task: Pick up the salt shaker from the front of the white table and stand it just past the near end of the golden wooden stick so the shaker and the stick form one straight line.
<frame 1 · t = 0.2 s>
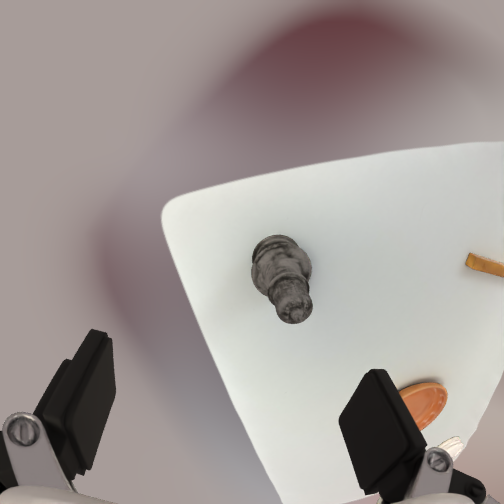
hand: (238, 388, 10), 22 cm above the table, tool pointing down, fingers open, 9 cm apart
coaster: (443, 447, 56), on the table
saucer: (404, 406, 45), on the table
golden stick: (492, 265, 35), on the table
salt shaker: (276, 257, 33), on the table
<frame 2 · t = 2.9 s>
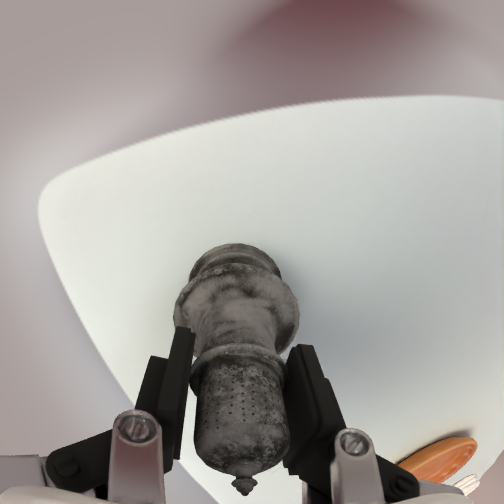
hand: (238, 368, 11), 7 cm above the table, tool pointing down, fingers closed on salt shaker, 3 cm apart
coaster: (457, 485, 40), on the table
saucer: (422, 462, 29), on the table
salt shaker: (235, 286, 17), on the table, touching gripper
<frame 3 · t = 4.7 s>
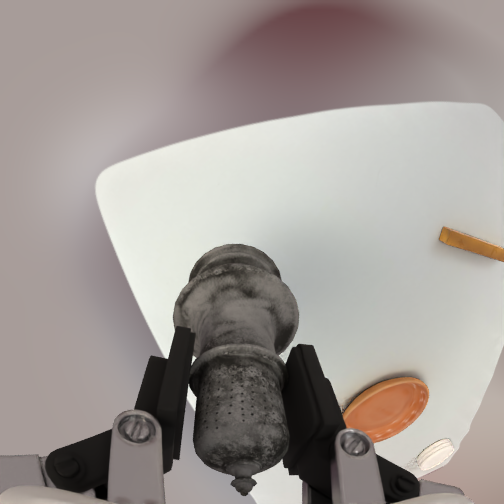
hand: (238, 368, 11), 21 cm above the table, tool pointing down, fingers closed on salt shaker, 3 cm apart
coaster: (432, 449, 53), on the table
saucer: (380, 403, 42), on the table
golden stick: (473, 243, 33), on the table
salt shaker: (235, 286, 17), point 14 cm above the table, touching gripper
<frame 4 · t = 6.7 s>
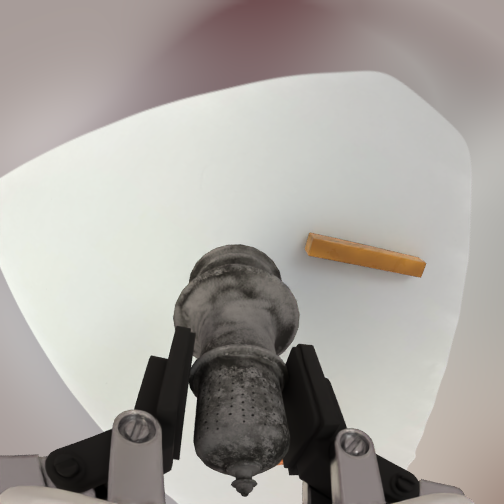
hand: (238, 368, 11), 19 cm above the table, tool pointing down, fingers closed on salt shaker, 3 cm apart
golden stick: (367, 253, 31), on the table
salt shaker: (235, 287, 17), point 12 cm above the table, touching gripper
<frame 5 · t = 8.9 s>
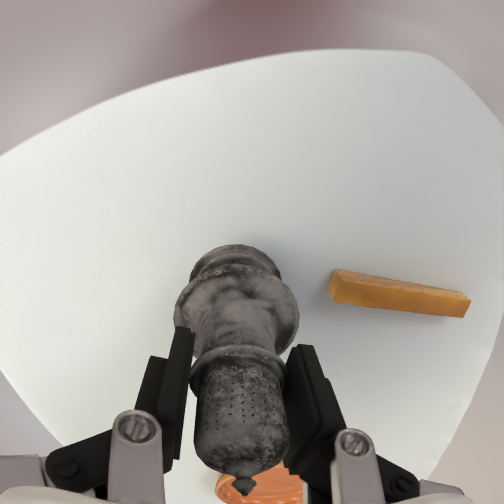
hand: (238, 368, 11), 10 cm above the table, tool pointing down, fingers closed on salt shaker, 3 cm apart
saucer: (276, 473, 32), on the table
golden stick: (404, 292, 23), on the table
salt shaker: (235, 287, 17), point 4 cm above the table, touching gripper
when the fingers open (7 cm above the table, at t = 10.3 s): salt shaker stays where it is, on the table.
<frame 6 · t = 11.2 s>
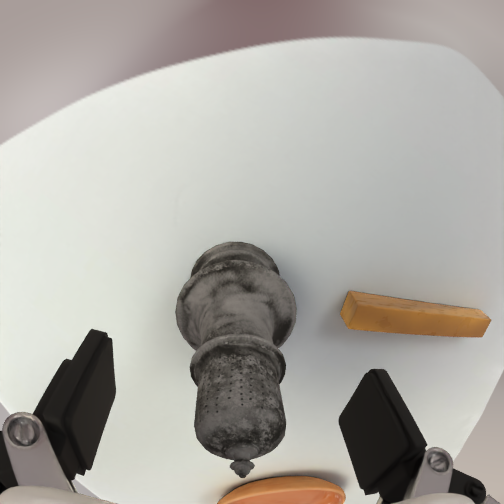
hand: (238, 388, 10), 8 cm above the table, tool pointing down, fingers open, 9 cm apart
saucer: (278, 493, 29), on the table
golden stick: (423, 312, 20), on the table
salt shaker: (235, 283, 18), on the table
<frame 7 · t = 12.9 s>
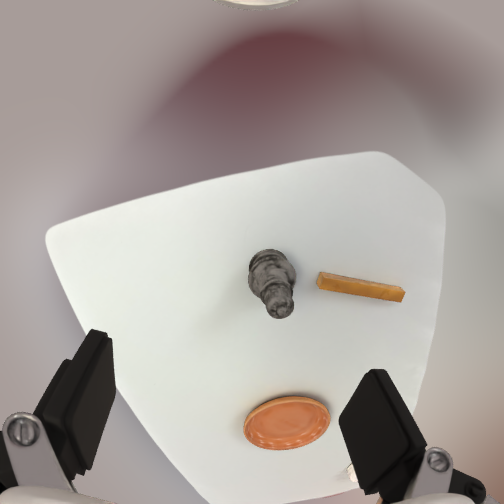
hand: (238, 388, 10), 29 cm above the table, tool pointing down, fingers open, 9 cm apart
coaster: (364, 463, 62), on the table
saucer: (285, 416, 51), on the table
golden stick: (361, 285, 42), on the table
salt shaker: (268, 267, 40), on the table
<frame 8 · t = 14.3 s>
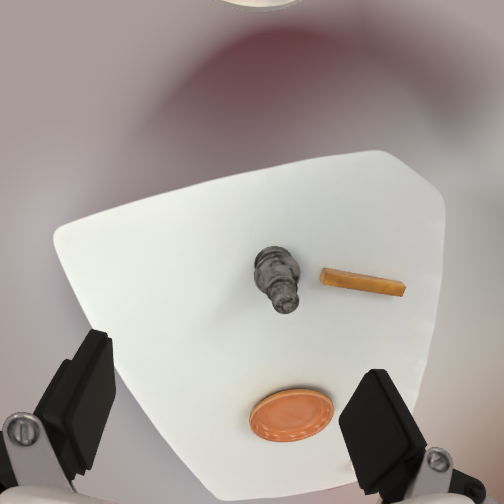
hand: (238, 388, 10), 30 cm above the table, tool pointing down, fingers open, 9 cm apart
saucer: (290, 408, 53), on the table
golden stick: (363, 280, 43), on the table
salt shaker: (273, 263, 42), on the table
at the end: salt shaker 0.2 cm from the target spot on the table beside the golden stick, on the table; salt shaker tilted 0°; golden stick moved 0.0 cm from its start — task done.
